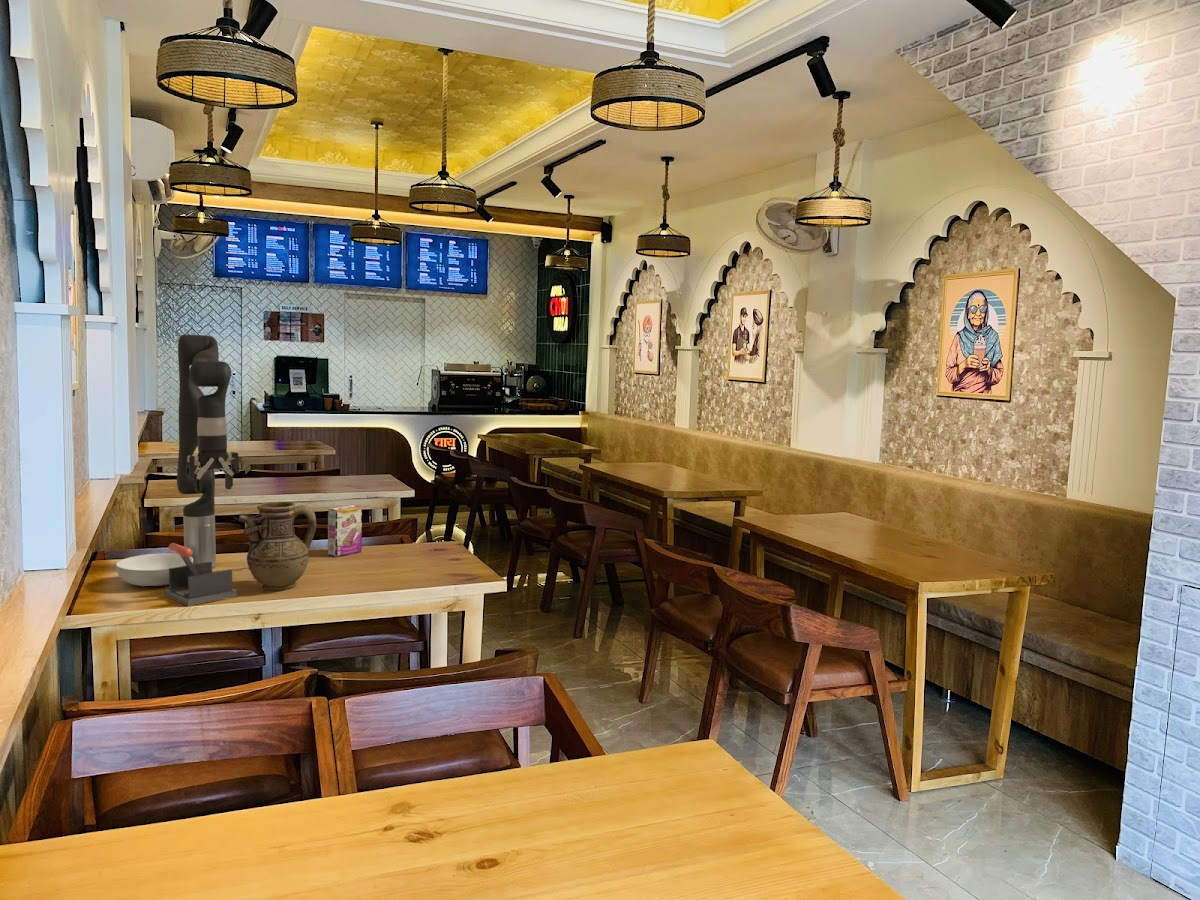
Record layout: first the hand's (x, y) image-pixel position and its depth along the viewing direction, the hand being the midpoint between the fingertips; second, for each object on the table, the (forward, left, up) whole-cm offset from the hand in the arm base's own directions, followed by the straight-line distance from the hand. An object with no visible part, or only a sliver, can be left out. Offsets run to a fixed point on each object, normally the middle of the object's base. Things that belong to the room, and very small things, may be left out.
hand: (213, 490), depth 253 cm
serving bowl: (-28, -5, -31) cm, 42 cm away
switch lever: (-4, -2, -27) cm, 27 cm away
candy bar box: (-23, +56, -31) cm, 69 cm away
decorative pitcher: (+1, +19, -31) cm, 36 cm away
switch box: (-4, -2, -31) cm, 31 cm away
